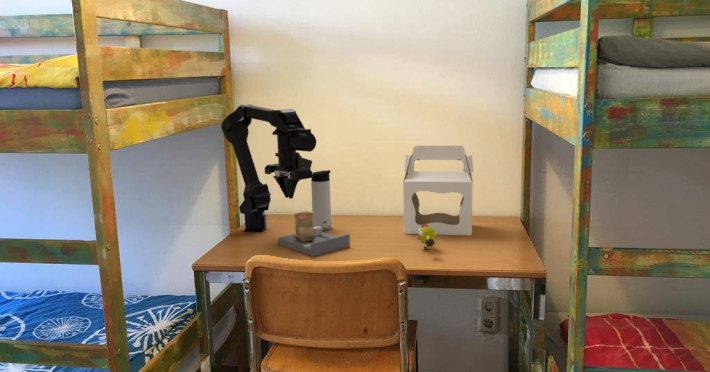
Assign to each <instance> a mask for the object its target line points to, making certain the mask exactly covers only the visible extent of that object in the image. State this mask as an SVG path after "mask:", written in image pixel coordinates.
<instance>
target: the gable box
mask: <svg viewBox="0 0 710 372" xmlns="http://www.w3.org/2000/svg"><path fill="white" fill-rule="evenodd" d="M465 151H466V150H465V147H464V146H463V145H414V146H413V148H412V153H411V155H405V160H404V161H405V162H404V173H405V175H404V179H403V183H402V184H403V186H402V189H403V190H402V191H403V192H402V193H403V194H402V195H403V235H405V234H406V235H418V233H419V232H418V229H419V228H421V226H422V225H424V224H427V225H428V226H429V227H431V228H433V229H434V230H435V233H436V236H437V235H443V236H472V235H473V188H474V187H473V182H474V181H473V173H474V163H473V155H468V156H467V154H466V152H465ZM421 160H422V161H425V160H426V161H427V160H428V161H429V160H430V161H431V160H432V161H439V160H440V161H441V160H442V161H443V160H444V161H446V160H447V161H462V164H463V169H462V170H463V171H448V170H447V171H444V170H443V171H438V170H437V171H435V170H433V171H430V170H429V171H427V170H426V171H424V170H422V171H420V170H417V171H416V170H415V162H416V161H421ZM418 192H430V193H435V194H436V193H437V194H449V193H450V194H451V193H457V194H460V195H462V197H461V200H460V205H459V212H458V214H457V215H452V214H448V213H446V212H445V213H444V212H433V213H430V214H422V213H420V199H419V197H418V195H417V193H418Z"/></svg>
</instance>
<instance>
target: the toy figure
mask: <svg viewBox="0 0 710 372" xmlns="http://www.w3.org/2000/svg"><path fill="white" fill-rule="evenodd" d="M418 232H419V233H418V234H417V237H416V238H417V240H418V241H420V242H421V243H422V244H423V245H425V246H423V250H426V251H428V250H430V248H431V247H433V246H434V244H435V240H436V237H437V235H436V233H435V230H434V229H433V228H431V227H429V226H428V225H427V224H424V225H422V226H421V228H419V229H418Z"/></svg>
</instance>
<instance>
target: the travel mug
mask: <svg viewBox="0 0 710 372" xmlns="http://www.w3.org/2000/svg"><path fill="white" fill-rule="evenodd" d="M330 174H331V170H330V169H327V170H318V171H314V172H312V175H313V177H312V178H310V182H311V184H310V186H311V189H310V190H311V210H312V211H311V213H313V227H316V226H319V227H322V232H323V231H328V230H330V229H332V208H331V206H332V205H331V204H332V203H331V182H330V181H331V179H330V176H331V175H330Z"/></svg>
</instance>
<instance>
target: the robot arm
mask: <svg viewBox="0 0 710 372" xmlns="http://www.w3.org/2000/svg"><path fill="white" fill-rule="evenodd" d="M252 120H257V121H261V122H266V123H268V124H269V125H271V127H274V128H275V129H274V131H272V133H271V134H272V135H273V136H276V141H277V142H276V143H277V144H276V145H277V152H275V153H274V155H275V156H274V157H277V159H278V161H277V162H278V163H273V164H272V163H271V164H266V165H265V167H264V174H265V175H271V174H273V173H274V175H273V179H274V180H275V181H276V183H277V185H278V187H279V188H280V190H281V192H282V194H283V196H284V197H285V199H288V198H289V199H290V200H291V199H293V198H294V195H295V192H296V188H297V185H298V183H299V182H300V181H301V180H306V179H307V180H308V179H311V178H312V177H313V175H312V174H313V170H311V169H312V165H313V160H311V159H308V158H305V157H302V155H301V154H300V153H299V152H298V151H301V152H310V153H311V152H313V151H314V150H315V149H316V146H317V138H316V136H315V134H314V133H312V129H311V128H305V127H304V124H303V122H302V121H301V119H300V116H299V114H297V111H296V110H295V109H293V108H287V109H286V108H285V109H284V108H283V109H271V108H267V107H262V106H257V105H253V104H241V105H239V106H237V107H236V108H235V110H234V111H233V112H231V113H230V114H228V115H227V116H226V117H225V118H224V119H223V120H222V122H221V125H220V126H221V132H222V133H223V136H224V138H225V139H226V141H227V142H229V143H230V144H231V145H232V147H233V151H234V154H235V157H236V161H237V164H238V166H239V167H238V168H239V170H240V173H241V176H242V180H243V183H244V189H243V194H242V195H243V202H242V203H241V204H240V205H239V206H238V207H239V208H238V210H239V212H240V214H242V215H244V229H243V232H245V233H246V232H264V231H265V230H266V228H267V227H268V222H267V214H266V213H265V212H266V211H269V208H270V204H271V199H272V198H271V195H272V194H271V191H270V190H269V186H268V184H267V183H263V182H261V180H260V178H259V175H258V172H257V168H256V166H255V163H254V160H253V156H252V154H251V150H250V146H249V144H248V138H249V126H250V125H251V124H252Z"/></svg>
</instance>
